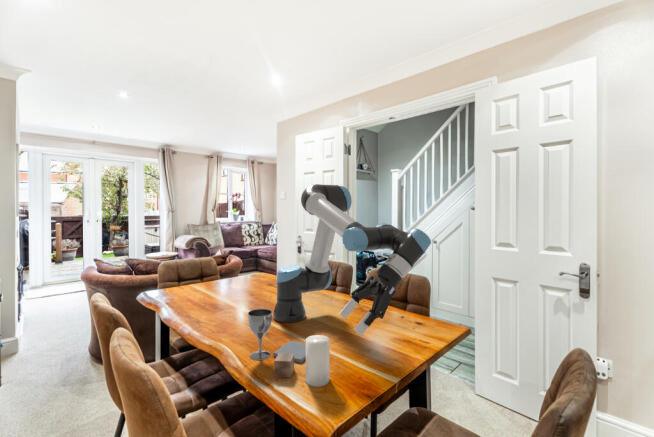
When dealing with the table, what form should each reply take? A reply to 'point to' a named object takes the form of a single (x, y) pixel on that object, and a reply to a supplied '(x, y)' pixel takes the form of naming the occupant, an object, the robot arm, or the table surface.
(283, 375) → the walnut block
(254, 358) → the wine glass
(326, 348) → the white pillar candle
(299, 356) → the coaster
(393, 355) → the table surface
